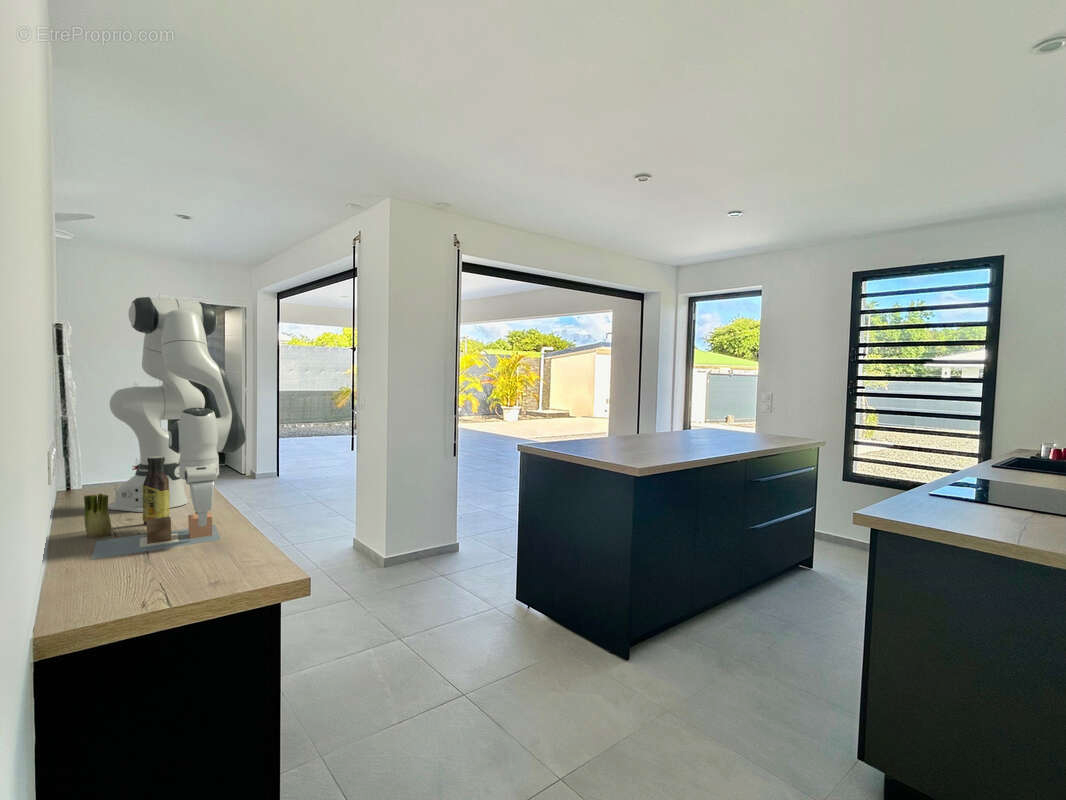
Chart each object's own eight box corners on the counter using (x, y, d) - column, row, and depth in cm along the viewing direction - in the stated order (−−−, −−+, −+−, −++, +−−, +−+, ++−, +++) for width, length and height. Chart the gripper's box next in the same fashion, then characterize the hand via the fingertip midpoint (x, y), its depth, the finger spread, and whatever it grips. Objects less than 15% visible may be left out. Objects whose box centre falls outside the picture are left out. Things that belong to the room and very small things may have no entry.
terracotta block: (189, 538, 139) (189, 519, 139) (188, 533, 143) (188, 515, 143) (212, 535, 142) (211, 516, 142) (210, 530, 146) (210, 512, 146)
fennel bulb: (81, 540, 140) (80, 494, 140) (103, 535, 145) (102, 490, 144) (94, 543, 138) (92, 497, 137) (115, 538, 142) (114, 493, 142)
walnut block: (147, 543, 134) (146, 524, 134) (147, 538, 138) (146, 519, 138) (171, 540, 137) (170, 521, 137) (170, 535, 141) (170, 516, 141)
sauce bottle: (138, 526, 153) (136, 457, 152) (162, 521, 159) (160, 454, 158) (151, 529, 150) (149, 458, 149) (174, 524, 156) (173, 455, 154)
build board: (91, 563, 124) (90, 558, 124) (96, 544, 137) (96, 540, 137) (221, 543, 139) (221, 539, 139) (215, 528, 152) (215, 524, 152)
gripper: (183, 465, 148) (184, 515, 149) (187, 476, 132) (189, 532, 132) (209, 463, 152) (211, 511, 153) (217, 474, 135) (218, 528, 136)
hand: (201, 521), depth 142 cm, fingers open, 8 cm apart
